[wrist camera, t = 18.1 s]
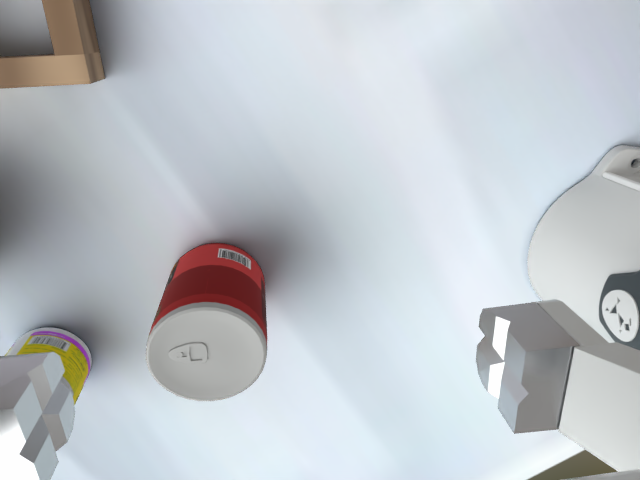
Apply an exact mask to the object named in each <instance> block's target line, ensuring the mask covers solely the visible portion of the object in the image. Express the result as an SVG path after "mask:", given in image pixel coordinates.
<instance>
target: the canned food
mask: <svg viewBox="0 0 640 480" xmlns="http://www.w3.org/2000/svg"><path fill="white" fill-rule="evenodd" d="M266 355H267V323H266V301H265V282H264V276H263V273H262V270H261V268H260V267H259V265H258V264H257V262H256V261H255V260H254V259H253V258H252V257H251V256H250V255H249V254H248V253H247V252H245V251H244V250H242V249H240V248H238V247H236V246H233V245H229V244H225V243H211V244H205V245H201V246H198V247H196V248H194V249H192V250H190V251H189V252H187V253H186V254H185V255H183V256H182V257H181V258H180V259H179V260H178V261H177V263H176V264H175V265H174V267H173V269H172V271H171V274H170V277H169V279H168V282H167V285H166V288H165V291H164V293H163V296H162V299H161V302H160V305H159V307H158V310H157V313H156V316H155V319H154V321H153V324H152V327H151V331H150V334H149V337H148V341H147V348H146V361H147V365H148V369H149V370H150V372H151V374H152V376H153V377H154V379H155V380H156V381H157V382H158V383H159V384H160V385H161V386H162V387H164V388H165V389H166V390H168V391H169V392H171V393H173V394H175V395H177V396H180V397H183V398H186V399H190V400H196V401H215V400H222V399H225V398H229V397H232V396H234V395H236V394H239V393H241V392H243V391H244V390H245V389H247V388H248V387H250V386H251V385H252V384H253V383H254V382H255V381H256V380H257V379H258V377H259V375H260V374H261V372H262V371H263V368H264V365H265V362H266Z"/></svg>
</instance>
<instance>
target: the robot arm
mask: <svg viewBox="0 0 640 480" xmlns="http://www.w3.org/2000/svg"><path fill="white" fill-rule="evenodd" d="M634 159H635V162H634V163H633V165H631V162H632V161H633V160H634ZM527 267H528V275H529V279H530V282H531V285H532V287H533V289H534V291H535V292H536V294H537V295H538V296H539V298H540V299H541V300H542V301H538V302H531V303H525V304H517V305H509V306H501V307H493V308H485V309H483V310H482V313H481V315H480V321H479V328H480V329H481V331H482V332H483V333H484V335H485V337H484V338H483V339H482V340H481V342H480V343H479V344H478V345H477V355H476V362H477V368H478V374H479V376H480V379H481V382H482V384H483V385H484V387H485V389H486V390H487V392H488V393H490V394H492V395H494V396H495V397H497V398H499V402H498V409H499V411H500V412H501V414H502V416H503V417H504V419H505V420H506V422H507V423H508V425H509V426H510V428H511V429H512V431H513V433H514V434H515V433H525V432H535V431H546V430H556V429H559V432H560V433H562V434H563V435H565V436H566V437H568V438H569V439H571V440H572V441H574V442H575V443H577V444H578V445H580V446H581V447H583V448H584V449H586V450H587V451H589V452H590V453H592V454H593V455H594V456H596V457H597V458H599V459H601V460H602V461H604V462H605V463H606V464H608V465H609V466H611V467H613V468H614V469H615V470H617V471H618V472H614V473H607V474H600V475H593V476H585V477H579V478H571V479H563V480H640V147H634V146H626V145H619V146H616V147H614V148H613V149H611V150H610V151H609V152H608V153H607V154H606V155H605V156H604V157H603V158H602V160H601V161H600V162H599V164H598V165H597V166H596V167H595V169H594V170H593V171H592V173H591V174H590V175H589V176H587V177H586V178H585V179H584V180H582V181H581V182H579V183H578V184H576V185H575V186H573V187H572V188H571V189H569V190H568V191H567V192H565V193H564V194H563V195H562V196H561V197H559V198H558V199H557V200H556V201H555V202H554V203H553V205H552V206H551V207H550V208H549V209H548V210H547V212H546V213H545V214H544V216H543V217H542V219H541V220H540V222H539V224H538V226H537V227H536V230H535V232H534V234H533V237H532V239H531V242H530V246H529V251H528V258H527ZM64 372H65V369H64V366H63V363H62V361H61V358H60V356H59V355H58V354H56V353H55V352H45V353H33V354H21V355H9V356H0V480H50V479H51V477H52V475H53V473H54V470H55V468H56V466H57V464H58V458H57V455H56V451H57V450H58V449H59V448H61V447H62V446H63V445H64V444H66V443H67V442H68V439H69V437H70V435H71V432H72V430H73V424H74V417H75V408H74V400H73V396H72V392H71V390H70V389H69V388H67V387H66V386H65V385H63V384H62V383H61V382H60V379H61V377H62V375H63V374H64Z"/></svg>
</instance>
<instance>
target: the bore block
mask: <svg viewBox="0 0 640 480" xmlns="http://www.w3.org/2000/svg"><path fill="white" fill-rule="evenodd" d="M42 3H43V7H44V11H45V16H46V20H47V24H48V28H49V33H50V37H51V41H52V45H53V50H54V54H46V55H25V56H4V57H0V88H18V87H37V86H55V85H74V84H91V83H94V82H97V81H100V80H102V79H105V76H104V71H103V66H102V61H101V56H100V51H99V46H98V41H97V36H96V31H95V26H94V21H93V16H92V11H91V6H90V1H89V0H42Z"/></svg>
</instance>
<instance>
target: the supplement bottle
mask: <svg viewBox="0 0 640 480" xmlns="http://www.w3.org/2000/svg"><path fill="white" fill-rule="evenodd" d="M45 352H55V353H56V354H58V355H59V356H60V358H61V361H62V363H63V366H64V369H65V372H64V374H63V375H62V377H61V379H60V382H61V383H62V384H63V385H65V386H66V387H67V388H69V389H70V390H71V392H72V396H73V400H74V405H75V403H76V401H77V399H78V397H79V395H80V392H81V390H82V388H83V386H84V384H85V382H86V380H87V378H88V375H89V373H90V370H91V365H92V359H91V354H90V351H89V349H88V347H87V346H86V345H85V343H84V342H83V341H82V340H81V339H79V338H78V337H77V336H75V335H74V334H72V333H70V332H68V331H66V330H62V329H58V328H49V327H48V328H39V329H35V330H32V331H29V332H27V333H25V334H24V335H22V336H21V337H20V338H19V339H18V340H17V341H16V342H15V343H14V344H13V346H12V347H11V348H10V349H9V351H8V352H7V353H6V355H5V356H9V355H21V354H33V353H45Z"/></svg>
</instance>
